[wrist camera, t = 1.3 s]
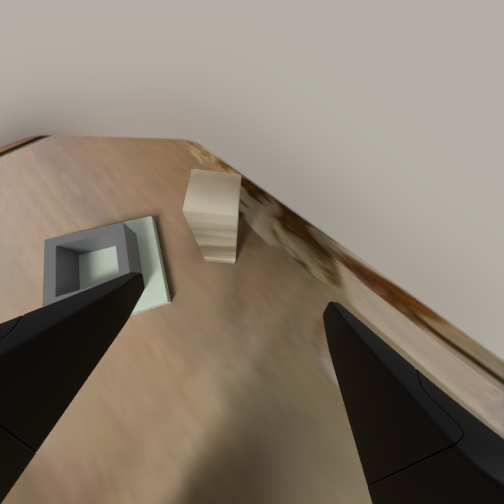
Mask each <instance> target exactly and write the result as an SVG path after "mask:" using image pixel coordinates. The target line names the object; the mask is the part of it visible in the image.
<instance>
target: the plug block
mask: <svg viewBox="0 0 504 504" xmlns="http://www.w3.org/2000/svg"><path fill="white" fill-rule="evenodd" d="M240 186H241V174H232V173H224V172H215V171H206V170H198V169H192V171H191V175H190V180H189V184H188V188H187V193H186V197H185V202H184V206H183V213H184V215H185V217H186V219H187V221H188V224H189V226H190V228H191V230H192V233H193V235H194V237H195V239H196V241H197V244H198V246H199V248H200V250H201V252H202V255H203V257H204V259H205V261H206V262H219V263H232V264H235V260H236V248H237V236H238V220H239V203H240Z"/></svg>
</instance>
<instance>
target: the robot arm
mask: <svg viewBox="0 0 504 504" xmlns="http://www.w3.org/2000/svg"><path fill="white" fill-rule="evenodd" d="M144 289H145V285H144V279H143V274H142V273H140V272H129V273H127V274H124V275H122V276H119V277H117V278H114V279H112V280H109V281H107V282H104V283H102V284H99V285H97V286H94V287H92V288H89V289H87V290H84V291H82V292H79V293H77V294H74V295H72V296H69V297H67V298H64V299H62V300H59V301H57V302H54V303H52V304H49V305H47V306H44V307H42V308H39V309H37V310H34V311H32V312H29V313H27V314H25V315H24V316H19V317H16V318H14V319H12V320H9V321H7V322H4V323H1V324H0V504H1V503H2V501H3V500H4V499H5V497H6V496H7V494H8V493H9V491H10V490H11V488H12V487H13V486H14V484H15V483H16V481H17V480H18V478H19V477H20V475H21V474H22V473H23V471H24V470H25V468H26V467H27V465H28V464H29V462H30V461H31V460H32V458H33V457H34V455H35V454H36V451H37V450H38V449H39V448H40V446H41V445H42V443H43V442H44V440H45V439H46V438H47V436H48V435H49V433H50V432H51V430H52V429H53V427H54V426H55V425H56V423H57V422H58V420H59V419H60V417H61V416H62V415H63V413H64V412H65V410H66V409H67V407H68V406H69V404H70V403H71V402H72V400H73V399H74V397H75V396H76V394H77V393H78V391H79V390H80V389H81V387H82V386H83V384H84V383H85V381H86V380H87V378H88V377H89V376H90V374H91V373H92V371H93V370H94V368H95V367H96V365H97V364H98V363H99V361H100V360H101V358H102V357H103V355H104V354H105V352H106V351H107V350H108V348H109V347H110V345H111V344H112V342H113V341H114V339H115V338H116V337H117V335H118V334H119V332H120V331H121V329H122V328H123V326H124V325H125V323H126V322H127V320H128V319H129V317H130V315H131V313H132V312H133V310H134V308H135V306H136V304H137V303H138V301H139V299H140V297H141V295H142V293H143V292H144ZM323 320H324V326H325V332H326V337H327V343H328V348H329V352H330V355H331V359H332V362H333V366H334V370H335V373H336V377H337V380H338V384H339V387H340V391H341V394H342V398H343V401H344V405H345V408H346V412H347V415H348V419H349V422H350V426H351V429H352V433H353V436H354V440H355V443H356V447H357V450H358V454H359V457H360V461H361V464H362V468H363V471H364V475H365V479H366V482H367V485H368V490H369V493H370V497H371V500H372V504H504V439H503V438H502V437H500V436H499V435H498V434H496V433H495V432H494V431H493V430H491V429H490V428H489V427H488V426H486V425H485V424H484V423H482V422H481V421H480V420H479V419H477V418H476V417H475V416H473V415H472V414H471V413H470V412H468V411H467V410H466V409H465V408H463V407H462V406H461V405H460V404H458V403H457V402H456V401H455V400H453V399H452V398H451V397H450V396H448V395H447V394H446V393H445V392H443V391H442V390H441V389H440V388H439V387H437V386H436V385H435V384H434V383H433V382H431V381H430V380H429V379H428V378H427V377H425V376H424V375H423V374H422V373H421V372H420V371H418V370H417V369H415V367H414V366H412V365H411V364H410V363H409V362H408V361H407V360H405V359H404V358H403V357H402V356H401V355H400V354H398V353H397V352H396V351H395V350H394V349H393V348H391V347H390V346H389V345H388V344H387V343H385V342H384V341H383V340H382V339H381V338H380V337H378V336H377V335H376V334H375V333H374V332H373V331H371V330H370V329H369V328H368V327H367V326H366V325H364V324H363V323H362V322H361V321H360V320H359V319H357V318H356V317H355V316H354V315H353V314H351V313H350V312H349V311H348V310H347V309H346V308H344V307H343V306H342V305H341V304H340V303H338V302H329V303H328V305H327V307H326V309H325V311H324V313H323Z"/></svg>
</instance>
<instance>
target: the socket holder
mask: <svg viewBox="0 0 504 504" xmlns="http://www.w3.org/2000/svg"><path fill="white" fill-rule="evenodd" d="M129 272H140V273H142V274H143V279H144V285H145V289H144V292H143V293H142V295H141V297H140V299H139V301H138V303H137V304H136V306H135V308H134V310H133V312H132V313H131V315H130V316H132V315H135V314H138V313H141V312H144V311H147V310H150V309H153V308H156V307H159V306H162V305H165V304H169V303H171V299H170V294H169V289H168V284H167V279H166V274H165V269H164V264H163V259H162V254H161V249H160V244H159V239H158V234H157V229H156V224H155V220H154V219H153V218H152V216H149V217H145V218H140V219H136V220H131V221H127V222H122V223H117V224H113V225H108V226H104V227H99V228H95V229H90V230H86V231H81V232H77V233H72V234H68V235H63V236H59V237H55V238H50V239H46V240H45V248H44V283H43V307H44V306H47V305H49V304H52V303H54V302H57V301H59V300H62V299H64V298H67V297H69V296H72V295H74V294H77V293H79V292H82V291H84V290H87V289H89V288H92V287H94V286H97V285H99V284H102V283H104V282H107V281H109V280H112V279H114V278H117V277H119V276H122V275H124V274H127V273H129Z"/></svg>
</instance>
